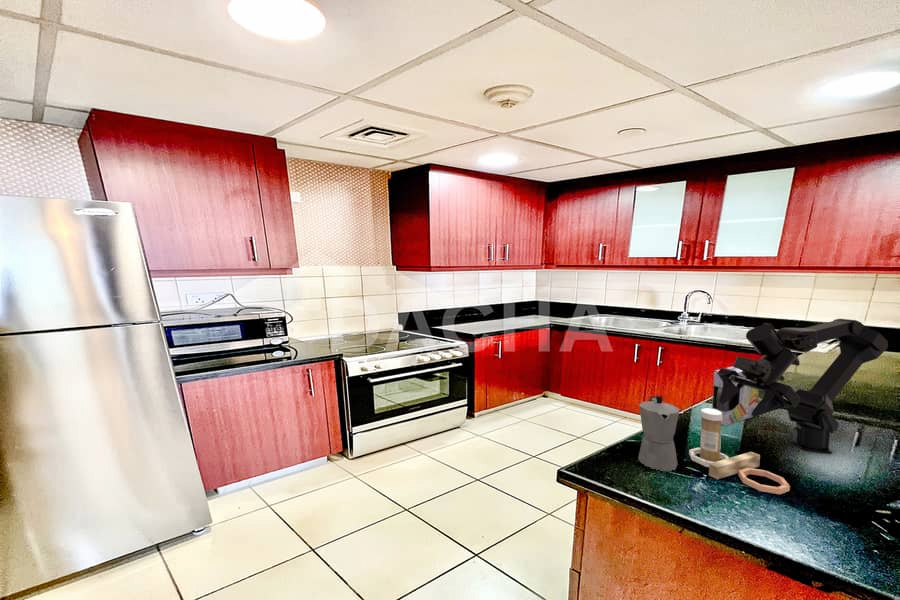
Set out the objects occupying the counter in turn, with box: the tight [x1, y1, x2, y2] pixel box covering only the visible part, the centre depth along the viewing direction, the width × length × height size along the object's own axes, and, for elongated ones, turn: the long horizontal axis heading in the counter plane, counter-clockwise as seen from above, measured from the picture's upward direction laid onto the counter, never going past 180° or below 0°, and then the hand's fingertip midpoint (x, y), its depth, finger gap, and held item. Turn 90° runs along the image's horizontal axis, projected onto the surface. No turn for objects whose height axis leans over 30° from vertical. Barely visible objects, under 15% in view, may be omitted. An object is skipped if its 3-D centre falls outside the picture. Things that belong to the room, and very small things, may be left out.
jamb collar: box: [688, 447, 730, 468], centre depth 99 cm, size 9×9×1 cm
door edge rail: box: [708, 451, 761, 480], centre depth 94 cm, size 16×2×3 cm, turn 111°
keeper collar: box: [737, 468, 791, 495], centre depth 89 cm, size 9×9×1 cm
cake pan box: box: [711, 366, 760, 426], centre depth 125 cm, size 19×5×18 cm, turn 114°
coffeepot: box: [637, 395, 681, 472], centre depth 99 cm, size 15×9×18 cm, turn 162°
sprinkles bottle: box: [699, 407, 722, 462], centre depth 99 cm, size 5×5×14 cm
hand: (735, 409), depth 100 cm, fingers open, 9 cm apart
